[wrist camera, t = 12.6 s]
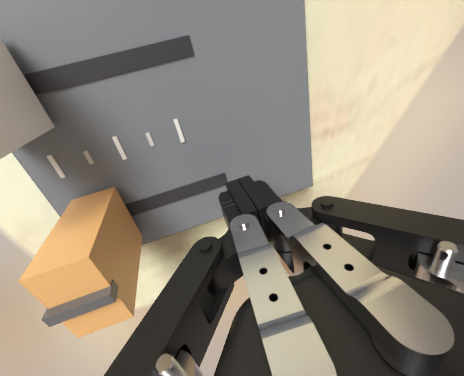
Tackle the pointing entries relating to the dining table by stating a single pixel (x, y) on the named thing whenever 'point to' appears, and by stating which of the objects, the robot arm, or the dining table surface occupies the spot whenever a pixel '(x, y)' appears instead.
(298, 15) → the console
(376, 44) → the dining table surface
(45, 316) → the orange fader
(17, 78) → the cream fader
